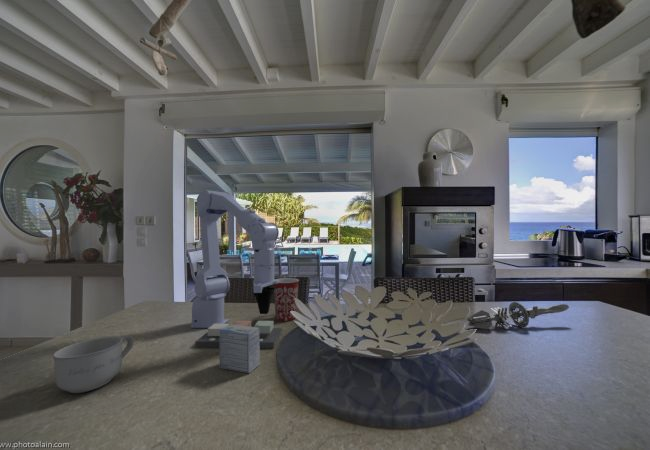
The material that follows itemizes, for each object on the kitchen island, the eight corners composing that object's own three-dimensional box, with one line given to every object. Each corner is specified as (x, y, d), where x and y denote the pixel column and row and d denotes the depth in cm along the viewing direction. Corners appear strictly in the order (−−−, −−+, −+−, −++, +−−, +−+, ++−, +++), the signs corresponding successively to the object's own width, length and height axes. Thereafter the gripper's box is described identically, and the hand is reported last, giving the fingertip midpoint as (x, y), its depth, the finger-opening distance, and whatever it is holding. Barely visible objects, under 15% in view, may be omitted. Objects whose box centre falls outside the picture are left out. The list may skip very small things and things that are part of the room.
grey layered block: (260, 365, 66) (260, 327, 66) (249, 374, 61) (249, 333, 62) (231, 360, 68) (231, 323, 68) (218, 368, 64) (218, 329, 64)
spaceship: (583, 304, 88) (560, 289, 95) (477, 320, 84) (461, 304, 91) (576, 324, 91) (554, 309, 98) (474, 341, 87) (459, 323, 94)
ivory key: (207, 336, 79) (207, 328, 79) (214, 330, 83) (214, 323, 84) (223, 336, 79) (223, 328, 79) (229, 330, 83) (229, 323, 83)
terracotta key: (230, 332, 79) (230, 325, 79) (236, 327, 83) (236, 320, 83) (246, 333, 79) (246, 325, 79) (251, 327, 83) (251, 320, 83)
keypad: (195, 347, 76) (195, 340, 76) (213, 332, 87) (213, 326, 87) (273, 348, 75) (273, 341, 75) (281, 333, 86) (281, 327, 86)
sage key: (254, 333, 79) (254, 325, 79) (258, 327, 83) (258, 320, 83) (270, 333, 78) (270, 325, 79) (273, 327, 83) (273, 320, 83)
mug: (299, 321, 97) (299, 281, 97) (272, 322, 96) (272, 282, 96) (298, 311, 109) (298, 276, 110) (274, 312, 108) (274, 276, 109)
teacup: (64, 407, 50) (65, 361, 50) (43, 389, 56) (44, 348, 56) (148, 373, 62) (148, 336, 62) (124, 361, 68) (124, 327, 68)
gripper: (272, 268, 74) (272, 321, 73) (282, 262, 88) (283, 306, 88) (245, 268, 74) (245, 321, 74) (260, 262, 89) (260, 306, 88)
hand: (264, 313), depth 81 cm, fingers closed
